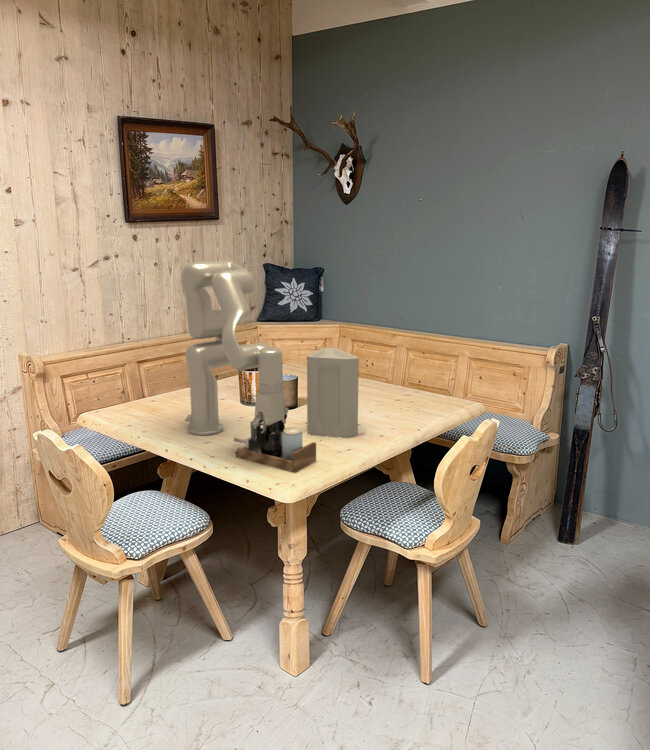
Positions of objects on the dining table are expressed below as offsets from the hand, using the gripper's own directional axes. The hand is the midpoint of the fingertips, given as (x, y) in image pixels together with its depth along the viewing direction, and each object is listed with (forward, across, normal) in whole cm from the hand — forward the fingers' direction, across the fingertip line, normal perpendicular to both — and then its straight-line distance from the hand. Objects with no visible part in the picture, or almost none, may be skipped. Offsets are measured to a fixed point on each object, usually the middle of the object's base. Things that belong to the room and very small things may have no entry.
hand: (271, 439), depth 210 cm
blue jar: (+6, 0, +8) cm, 10 cm away
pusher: (+6, 0, -10) cm, 12 cm away
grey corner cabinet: (+6, -32, +1) cm, 33 cm away
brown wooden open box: (+6, 0, +2) cm, 6 cm away
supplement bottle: (+6, 0, 0) cm, 6 cm away
